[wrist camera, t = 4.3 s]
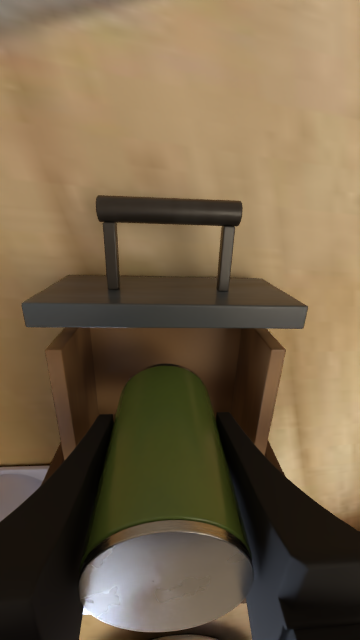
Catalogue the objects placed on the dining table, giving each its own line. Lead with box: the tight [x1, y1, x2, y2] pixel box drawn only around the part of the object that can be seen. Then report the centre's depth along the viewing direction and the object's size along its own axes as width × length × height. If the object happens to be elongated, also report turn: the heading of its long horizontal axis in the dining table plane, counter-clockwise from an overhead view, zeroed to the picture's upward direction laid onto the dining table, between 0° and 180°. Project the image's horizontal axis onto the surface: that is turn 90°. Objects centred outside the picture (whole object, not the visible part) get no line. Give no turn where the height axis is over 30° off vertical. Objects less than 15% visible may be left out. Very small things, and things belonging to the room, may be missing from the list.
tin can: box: [77, 363, 254, 632], centre depth 11 cm, size 5×5×8 cm
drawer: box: [22, 195, 308, 460], centre depth 16 cm, size 17×13×6 cm
